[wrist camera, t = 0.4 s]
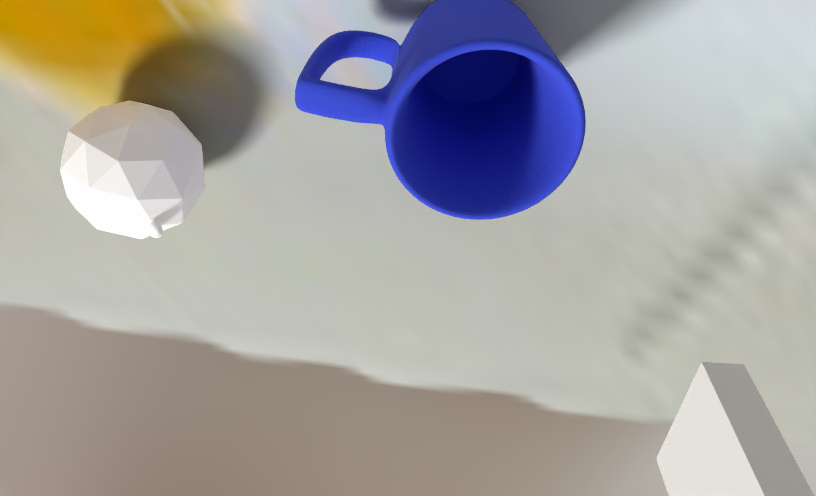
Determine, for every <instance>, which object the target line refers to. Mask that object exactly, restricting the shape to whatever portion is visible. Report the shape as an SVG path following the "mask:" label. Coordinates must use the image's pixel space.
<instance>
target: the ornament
mask: <svg viewBox="0 0 816 496" xmlns="http://www.w3.org/2000/svg"><path fill="white" fill-rule="evenodd" d="M60 171H61V175H62V179H63V183H64V187H65V191H66V195H67V197H68V198H69V200H70V201H71V203H72V204H73V205H74V207H75V208H76V209H77V210H78V211H79V212H80V213H81V214H82V215H83V216H84V217H85V218H86V219H87V220H88V221H89V222H90V223H91V224H92V225H93V226H94V227H95V228H96V229H99V230H103V231H108V232H112V233H116V234H121V235H125V236H130V237H134V238H139V239H143V238H146V237H148V236H152V237H154V238H159V237H161V236H162V234H163V230H166V229H168V228H171V227H173V226H176V225H178V224H181V223H183V221H184V220H185V218H186V217H187V215H188V214H189V212H190V211H191V210H192V208H193V207H194V205H195V203H196V202H197V200H198V198H199V197H200V195H201V193H202V192H203V190H204V188H205V176H204V165H203V153H202V144H201V143H200V142H199V141H198V140H197V139H196V137H195V136H194V135H193V134H192V133H191V132H190V131H189V129H188V128H187V127H186V126H185V125H184V124H183V123H182V121H181V120H180V119H179V118H178V117H177V116H176V115H175V113H174V112H172V111H169V110H165V109H162V108H158V107H155V106H151V105H147V104H144V103H139V102H134V101H130V100H129V101H125V102H121V103H116V104H112V105H108V106H104V107H101V108H99V109H97V110H96V111H94V112H92V113H91V114H89V115H87V116H86V117H85V118H84V119H82V120H81V121H80V122H79V123H78V124H76V125H75V126H74V127H73V128H72V129H70V130H69V131H68V135H67V139H66V143H65V146H64V150H63V155H62V161H61V168H60Z"/></svg>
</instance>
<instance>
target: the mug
mask: <svg viewBox="0 0 816 496" xmlns="http://www.w3.org/2000/svg"><path fill="white" fill-rule="evenodd" d="M349 57H362V58H370V59H374V60H378V61H382V62H385V63H388V64H390V65H391V66H392V69H393V71H392V77H391V80H390V81H389V83H388V84H387V85H386V86H385V87H384V88H382V89H378V90H369V89H362V88H356V87H351V86H345V85H340V84H335V83H331V82H326V81H322V80H320V78H321V76H322V75H323V74H324V72H325V71H326V70H327V69H328V67H329V66H330V65H332V64H333V63H334V62H336V61H338V60H340V59H344V58H349ZM295 102H296V105H297V108H298V109H300V110H301V111H304V112H307V113H311V114H316V115H320V116H324V117H329V118H335V119H340V120H346V121H352V122H360V123H374V124H382V125H383V126H384V128H385V140H386V148H387V153H388V157H389V160H390V163H391V165H392V167H393V170H394V172H395V173H396V175H397V177H398V178H399V180H400V181H401V183H402V184H403V185H404V187H405V188H406V189H407V190H408V191H409V192H410V193H411V194H412V195H413V196H414V197H416V198H417V199H418V200H419V201H421V202H422V203H424V204H425V205H427V206H428V207H430V208H432V209H434V210H436V211H439V212H441V213H444V214H447V215H450V216H454V217H459V218H464V219H478V220H481V219H494V218H500V217H505V216H509V215H512V214H515V213H518V212H521V211H523V210H525V209H528V208H530V207H531V206H533V205H535V204H537V203H539V202H540V201H542V200H543V199H544V198H546V197H547V196H548V195H550V194H551V193H552V192H553V191H554V190H555V189H556V188H557V187H558V186H559V185H560V184H561V183H562V182H563V181H564V180H565V178H566V177H567V176H568V174H569V173H570V172H571V170H572V168H573V167H574V165H575V163H576V161H577V159H578V156H579V154H580V151H581V148H582V145H583V140H584V135H585V110H584V105H583V101H582V98H581V95H580V92H579V90H578V88H577V86H576V84H575V82H574V80H573V79H572V77H571V76H570V74H569V73H568V71H567V70H566V69H565V67H564V66H563V65H562V63H561V62H560V61H559V59H558V58H557V56H556V55H555V54H554V52H553V51H552V50H551V48H550V47H549V46H548V44H547V43H546V42H545V40H544V39H543V37H542V36H541V35H540V33H539V32H538V31H537V29H536V28H535V27H534V25H533V24H532V22H531V21H530V20H529V18H528V17H527V16H526V15H525V13H524V12H523V11H522V10H521V9H520V8H519V7H517V6H516V5H515V4H514V3H512V2H511V1H509V0H437V1H436V2H434V3H433V4H431V5H430V6H429V7H428V8H427V9H425V10H424V11H423V12H422V13H421V15H420V16H419V17H418V18H417V20H416V21H415V22H414V24H413V26H412V27H411V29H410V31H409V33H408V34H407V36H406V38H405V40H404V42H403V43H402V45H401V46H399V44H398V43H397V41H395V40H394V39H392V38H390V37H387V36H384V35H380V34H376V33H372V32H366V31H343V32H339V33H336V34H334V35H332V36H330V37H329V38H327V39H326V40H325V41H324V42H322V43H321V44H320V45H319V46H318V48H317V49H316V50H315V51H314V52H313V54H312V55H311V57H310V58H309V60H308V61H307V63H306V65H305V67H304V69H303V70H302V72H301V74H300V76H299V78H298V80H297V85H296V90H295Z"/></svg>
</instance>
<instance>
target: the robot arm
mask: <svg viewBox="0 0 816 496" xmlns="http://www.w3.org/2000/svg"><path fill="white" fill-rule="evenodd" d="M656 459H657V462H658V465H659V468H660V471H661V474H662V476H663V479H664V482H665V485H666V488H667V491H668V494H669V496H814V495H813V493H812V491H811V489H810V487H809V485H808V483H807V482H806V480H805V478H804V476H803V474H802V472H801V470H800V468H799V467H798V465H797V463H796V461H795V459H794V457H793V455H792V453H791V452H790V450H789V448H788V446H787V444H786V442H785V440H784V438H783V437H782V435H781V433H780V431H779V429H778V427H777V425H776V424H775V422H774V420H773V418H772V416H771V414H770V412H769V410H768V409H767V407H766V405H765V403H764V401H763V399H762V397H761V395H760V394H759V392H758V390H757V388H756V386H755V384H754V382H753V381H752V379H751V377H750V375H749V373H748V371H747V369H746V367H745V366H744V365H743V364H726V363H709V362H702V363H701V365H700V367H699V369H698V371H697V373H696V375H695V378H694V380H693V382H692V384H691V386H690V388H689V390H688V392H687V395H686V397H685V399H684V401H683V403H682V405H681V407H680V409H679V412H678V414H677V416H676V418H675V420H674V422H673V424H672V426H671V429H670V431H669V433H668V435H667V437H666V439H665V442H664V443H663V446H662V448H661V450H660V452H659V454H658V456H657V458H656Z"/></svg>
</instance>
